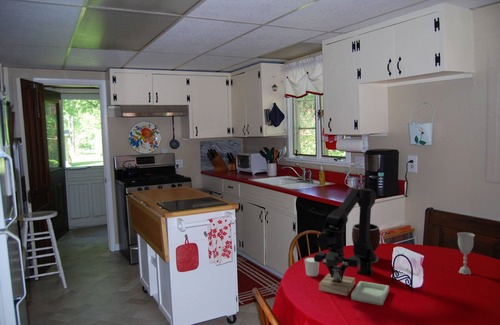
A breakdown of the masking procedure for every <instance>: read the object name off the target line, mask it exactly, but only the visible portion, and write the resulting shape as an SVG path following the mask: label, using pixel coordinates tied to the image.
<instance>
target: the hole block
mask: <svg viewBox="0 0 500 325" xmlns="http://www.w3.org/2000/svg"><path fill="white" fill-rule="evenodd" d="M355 279H356V278H355V277H350V276H345V275H344V276H343V279H342V280H341V283H335V282H334V276H333V278H332V277H331V275H330V273H327V274H326V275H325V276H324V278H323V279H322V280H321V281H320V282H319V283H318V290H319V292H326V293H330V294H331V293H332V294H336V295H337V294H338V295H342V296H349V294H350V292H351V291H352V289H353V288H354V286H355V285H356V284H355V283H356V282H355Z"/></svg>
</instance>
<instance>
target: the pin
mask: <svg viewBox="0 0 500 325" xmlns="http://www.w3.org/2000/svg"><path fill="white" fill-rule="evenodd" d="M332 270H333V276H334V282H335V283H341V265H337V266H332Z"/></svg>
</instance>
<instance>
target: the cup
mask: <svg viewBox="0 0 500 325" xmlns="http://www.w3.org/2000/svg"><path fill="white" fill-rule="evenodd" d="M304 266H305V274H306V276H308V277H317V276H319V269H320V262H315V261H314V256H311V257H306V258H304Z"/></svg>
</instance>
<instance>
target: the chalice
mask: <svg viewBox="0 0 500 325" xmlns="http://www.w3.org/2000/svg"><path fill="white" fill-rule="evenodd" d="M456 235H457V245H458V248H459V250H460V252H461V254H463V261H462V262H463V266H461V267H460V269H459V271H458V273H459V274H461V273H462V275H466V274H469V275H471V274H472V272H471V270H470V268H469V267H468V266H467V263H468V261H467V260H468V257H467V256H468V255H469V254H470V253H471V251H472V249H473V247H474V242H475V241H474V238H475V236H476V235H475V234H474V233H473V232H464V231H463V232H462V231H461V232H457V233H456Z"/></svg>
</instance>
